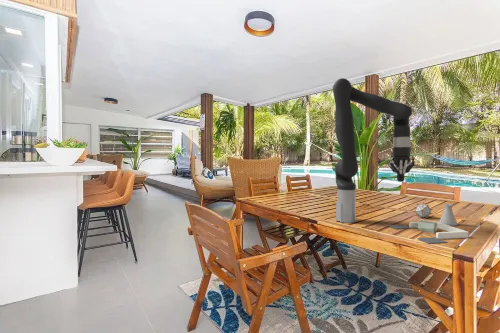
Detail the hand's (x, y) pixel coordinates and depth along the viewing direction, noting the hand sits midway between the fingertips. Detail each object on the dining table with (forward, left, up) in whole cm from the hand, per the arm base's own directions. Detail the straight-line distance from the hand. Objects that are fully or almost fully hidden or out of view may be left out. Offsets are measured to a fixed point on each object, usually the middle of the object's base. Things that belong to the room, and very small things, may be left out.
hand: (400, 181), depth 124 cm
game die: (+22, +12, -22) cm, 34 cm away
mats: (-2, -13, -22) cm, 25 cm away
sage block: (+7, -9, -22) cm, 25 cm away
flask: (+24, -2, -22) cm, 33 cm away
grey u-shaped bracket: (+8, -13, -22) cm, 27 cm away
